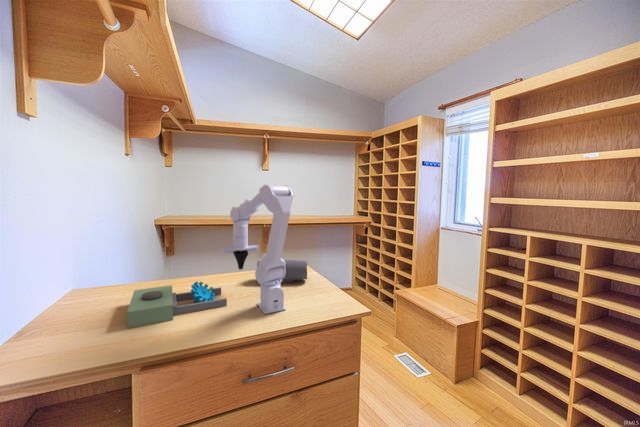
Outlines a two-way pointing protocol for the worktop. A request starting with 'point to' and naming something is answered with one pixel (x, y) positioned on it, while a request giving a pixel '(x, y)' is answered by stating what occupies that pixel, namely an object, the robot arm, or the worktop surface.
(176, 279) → the worktop surface
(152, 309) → the green block with rails
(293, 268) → the bluetooth speaker
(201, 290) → the gear
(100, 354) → the worktop surface
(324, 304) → the worktop surface
